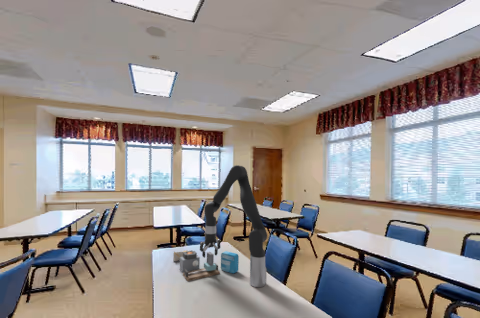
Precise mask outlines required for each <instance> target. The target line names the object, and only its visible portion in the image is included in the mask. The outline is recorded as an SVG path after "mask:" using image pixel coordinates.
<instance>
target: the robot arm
mask: <svg viewBox="0 0 480 318" xmlns="http://www.w3.org/2000/svg"><path fill="white" fill-rule="evenodd" d="M249 180H250V179H249V175H248V171H247V168H246V167H244V166H243V165H237V164H236V165H233V166H232V167H231V168H230V169H229V171H228V173H227V175H226V178H225V179H224V181H223V183H222V184H221V185H220V187H219V189H218V190H217V191H216V193H215V194H214V195H213V198H212V199H213V200H212V201H211V202H208V203H206V204H205V206H204V210H203V211H204V212H203V213H204V217H205V229H204V230H205V231H204V241H200V242H199V251H200V252H202V253H201V254H202V258H206V251H207V250H208V249H210V248H214V256H217V255H218V250H219V249H221V239H219V238H217V217H216V216H215V215H214V213H216V212H217V211H219V209H220V207H221V205H222V204H223V201H224V200H225V199H226V198H227V197H228V195H229V193H230V190H231V188H232V186H233V184H234V183H235V182H236V181H237V182H238V185H239V191H240V192H239V200H240V205H241V208H242V210H243V212H244V214H245V215H246V216H247V218H248V219H249V220H250V222H251V225H252V230H251V231H250V232H249V236H248V250H249V254H250V255H249V256H250V258H249V259H250V261H249V264H250V265H249V285H250V286H251V287H255V288H262V287H265V285H267V267H266V250H265V249H264V247H263V246H264V243H265V242H266V240H267V239H268V233H267V230H266V228H265V226H264V222H263V221H262V219H261V214H260V211H259V208H258V206H257V202H256V199H255V196H254V194H253V190H252V187H251V185H250V181H249Z"/></svg>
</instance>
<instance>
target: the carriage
mask: <svg viewBox="0 0 480 318" xmlns="http://www.w3.org/2000/svg"><path fill="white" fill-rule="evenodd" d="M214 256H215V253H212V252H211V251H207V252H206V262H203V268H205V269H206V270H207V271H211V270H216V264H217V263H216V264H214V263H215V262H214V260H215V259H214Z"/></svg>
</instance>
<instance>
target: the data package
mask: <svg viewBox="0 0 480 318" xmlns="http://www.w3.org/2000/svg"><path fill="white" fill-rule="evenodd" d="M239 257H240V256H239V254H238V253H237V252H231V251H228V250H225V251H223V252H222V253H221V254H220V270H221V271H224V272H227V273H230V274H235V273H238V272H239V263H240V262H239Z"/></svg>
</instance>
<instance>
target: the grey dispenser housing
mask: <svg viewBox="0 0 480 318" xmlns="http://www.w3.org/2000/svg"><path fill="white" fill-rule="evenodd" d="M184 251H185V252H184V253H183V257H180V260H179V270H180V271H181V273H184V269H186V270H187V271H188V272H189V271H193V270H198V269H200V264H201V263H200V262H201V260H200V259H201V257H200V256H199V255H198V253H197V252H196V251H195V250H188V251H186V250H184ZM188 252H192V254H187V253H188Z"/></svg>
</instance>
